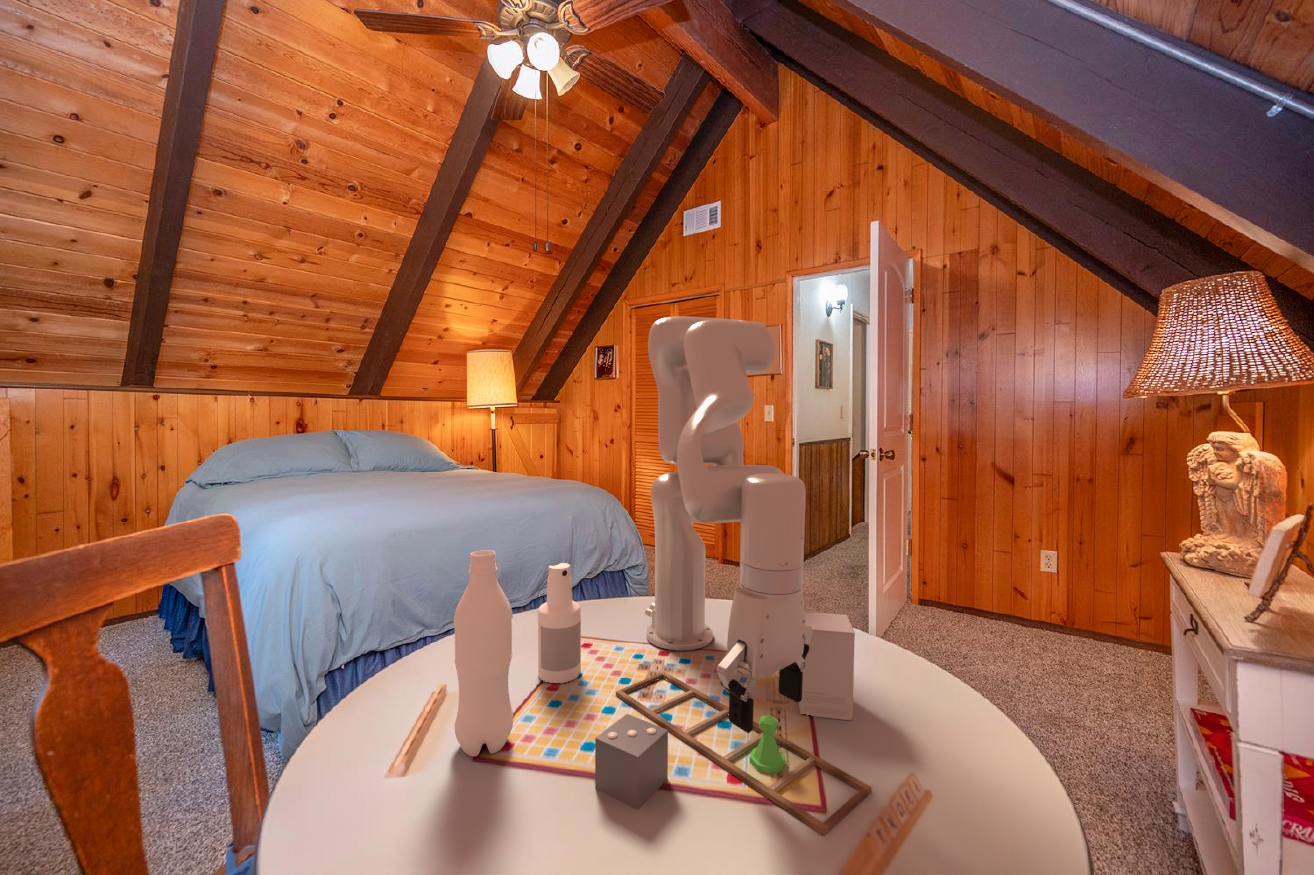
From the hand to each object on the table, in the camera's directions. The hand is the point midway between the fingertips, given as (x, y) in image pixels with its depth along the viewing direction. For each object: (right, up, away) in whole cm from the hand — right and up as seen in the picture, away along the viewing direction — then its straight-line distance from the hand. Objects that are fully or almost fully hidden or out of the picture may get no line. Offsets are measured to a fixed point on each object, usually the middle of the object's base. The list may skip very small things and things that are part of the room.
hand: (766, 711), depth 67 cm
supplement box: (+11, -6, +13) cm, 18 cm away
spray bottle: (-29, -5, +22) cm, 37 cm away
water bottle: (-36, -6, +3) cm, 36 cm away
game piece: (0, -6, 0) cm, 6 cm away
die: (-16, -6, -4) cm, 18 cm away
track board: (-4, -6, +5) cm, 9 cm away
